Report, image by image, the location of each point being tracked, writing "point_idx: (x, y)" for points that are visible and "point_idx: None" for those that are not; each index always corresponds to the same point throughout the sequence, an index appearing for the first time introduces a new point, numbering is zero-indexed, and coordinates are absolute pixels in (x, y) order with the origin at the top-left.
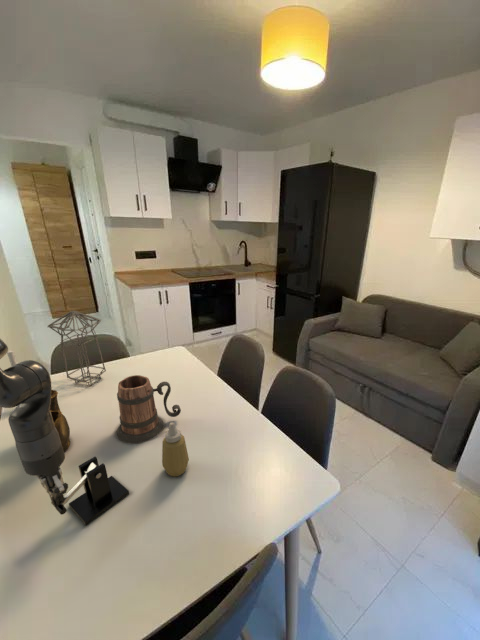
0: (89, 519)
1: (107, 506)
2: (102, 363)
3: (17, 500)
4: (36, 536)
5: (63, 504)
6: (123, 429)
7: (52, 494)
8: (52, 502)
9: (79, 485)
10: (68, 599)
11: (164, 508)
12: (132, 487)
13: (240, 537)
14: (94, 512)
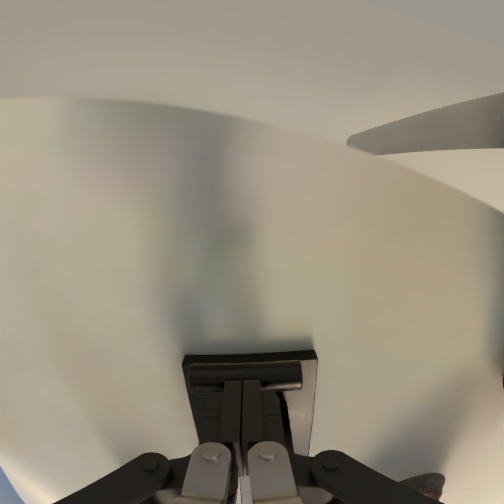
0: (184, 375)
1: (195, 421)
2: None
3: (478, 235)
4: (278, 228)
5: None
6: None
7: (138, 491)
8: (248, 392)
9: (240, 485)
10: (10, 228)
11: (105, 459)
12: None
13: (4, 448)
14: (199, 395)
